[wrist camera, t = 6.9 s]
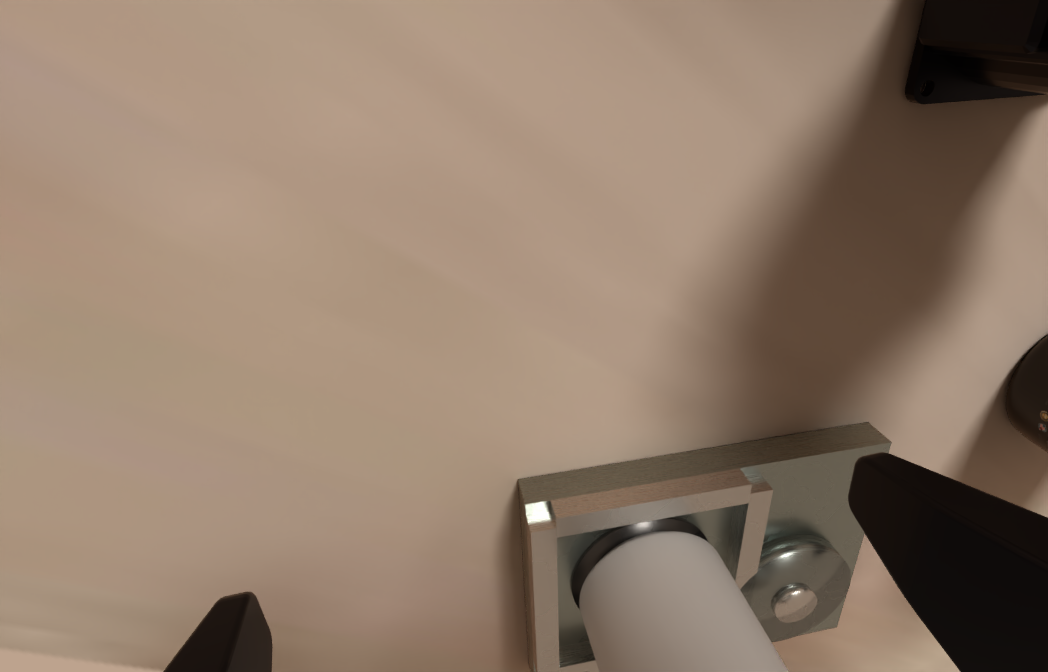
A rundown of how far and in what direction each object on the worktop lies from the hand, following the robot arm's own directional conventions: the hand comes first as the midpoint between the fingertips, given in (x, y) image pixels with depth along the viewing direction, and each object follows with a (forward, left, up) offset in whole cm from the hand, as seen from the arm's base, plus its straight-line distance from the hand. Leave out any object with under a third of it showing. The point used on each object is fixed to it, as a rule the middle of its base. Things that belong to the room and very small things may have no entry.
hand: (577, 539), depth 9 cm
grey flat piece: (-9, +16, -13) cm, 23 cm away
